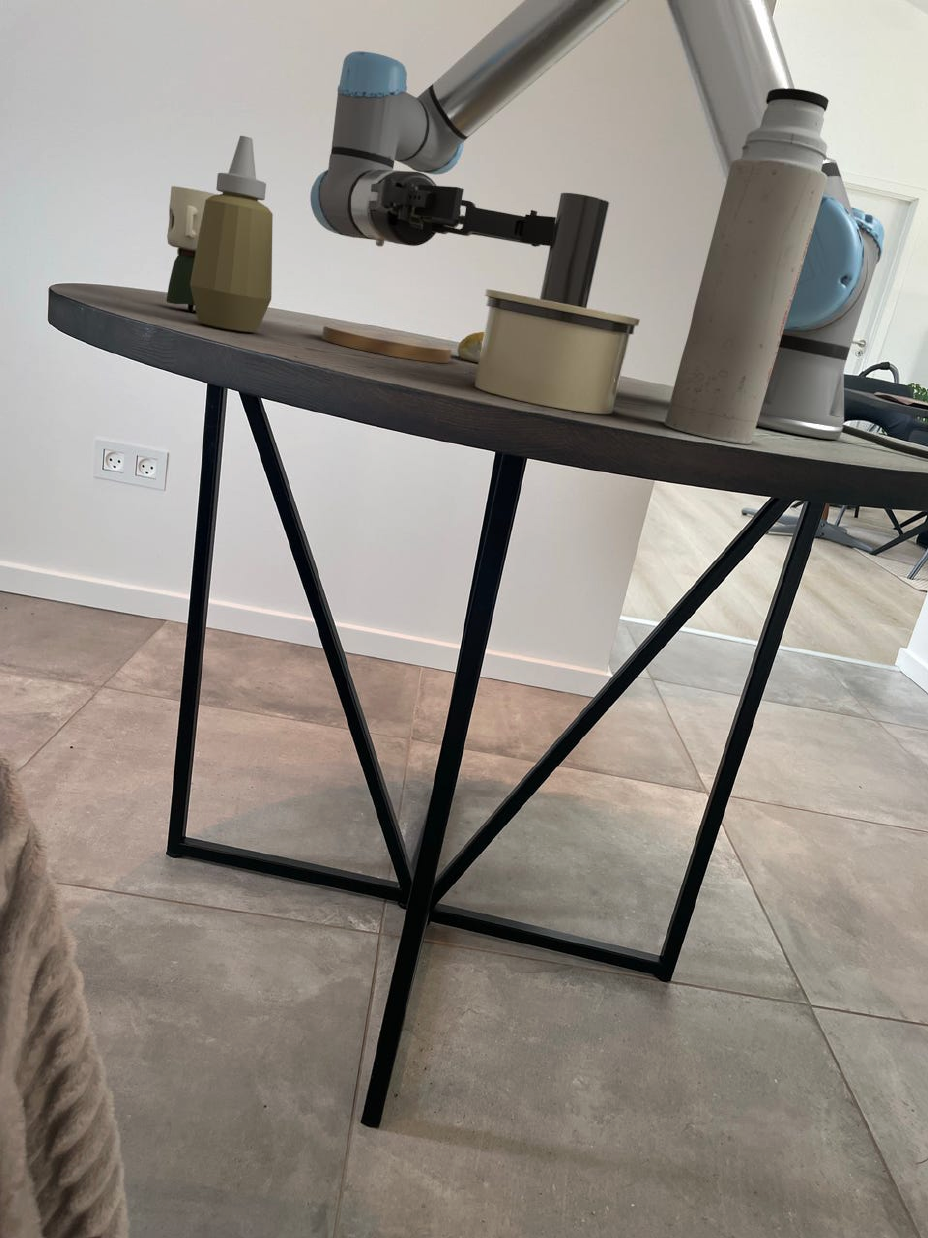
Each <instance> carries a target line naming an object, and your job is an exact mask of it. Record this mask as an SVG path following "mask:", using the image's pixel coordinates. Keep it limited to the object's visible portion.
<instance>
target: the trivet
mask: <svg viewBox="0 0 928 1238" xmlns="http://www.w3.org/2000/svg"><path fill="white" fill-rule="evenodd" d="M321 339H322V340H323V341H326V342H328V343H332V344H335V345H338V346H342V347H346V348H351V349H353V350H359V351H364V352H368V353H373V354H378V355H382V356H388V357H394V358H400V359H405V360H412V361H417V362H418V361H419V362H427V363H437V364H448V363H450V360H451V354H452V348H451V347H448V346H446V345H442V344H438V343H434V342H431V341H427V340H422V339H417V338H413V337H407V336H403V335H399V334H395V333H389V332H382V331H377V330H372V329H365V328H360V327H353V326H347V325H339V324H323V327H322V335H321Z"/></svg>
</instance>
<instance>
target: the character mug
mask: <svg viewBox="0 0 928 1238" xmlns="http://www.w3.org/2000/svg"><path fill="white" fill-rule="evenodd" d="M214 195H219V194H217V193H214V192H209V191H205V190H199V189H194V188H188V187H184V186H175V185H172V186H171V188H170V198H169V205H168V207H169V208H168V209H169V210H168V211H169V213H168V214H169V215H168V216H169V218H168V229H167V235H166V240H167V244H168V245H169V246H171V247H172V248H177V249H176V257H175V259H174V262H173V265H172V269H171V275H170V278H169V282H168V288H167V294H166V299H165V302H167V303H168V304H172V305H187V312H190V313H192V312H194V310H195V311H196V309H195V304H194V300H193V295H192V291H191V286H190V282H191V276H192V271H193V265H194V260H195V255H196V249H197V244H198V238H199V233H200V227H201V222H202V217H203V211H204V206H205V200H206V199H208V198H209V197H211V196H214Z"/></svg>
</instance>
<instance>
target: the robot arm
mask: <svg viewBox="0 0 928 1238" xmlns="http://www.w3.org/2000/svg"><path fill="white" fill-rule="evenodd" d="M631 1H632V0H523V1H522V2H521V3H520V4H519V5H518V6H517V7H516V8H514V9H513V10H512V11H511V12H510V13H508V15H507V16H506V17H504V18H503V19H502V20H501V21H500V22H499V23H498V24H496V25H495V27H494V28H492V29H491V30H490V31H489V32H488V33H487V34H486V35H485V36H483V38H482V39H481V40H480V41H478V42H477V43H476V44H474V46H473V47H471V49H469V50H468V51H467V52H466V53H465V54H464V55H463V56H462V57H461V58H460V59H458V60H457V61H456V62H455V63H454V64H453V65H452V66H451V67H450V68H449V69H447V70H446V71H445V72H444V73H443V74H442V75H441V76H440V77H439V78H438V79H437V80H435V82H433V83H432V84H431V85H430V86H429V87H427V88H426V89H425V90H424V91H423V92H422V93H420V94H419V95H418V96H417V97H416V96H414V95H412V94H410V93H409V92H407V90H408V85H407V77H408V72H407V69H406V67H405V65H404V64H403V63H402V62H401V61H399V60H397V59H395V58H392V57H391V56H387V55H384V54H380V53H376V52H370V51H361V50H359V51H358V50H357V51H351V52H349V53H348V54H347V55H346V56H345V57H344V59H343V64H342V69H341V74H340V80H339V84H338V87H337V97H336V107H335V115H334V123H333V133H332V142H331V149H330V154H329V159H328V161H329V162H328V168H327V169H326V170H324V171H322V172H321V173H320V174H319V175H318V176H317V177H316V179H315V181H314V183H313V185H312V187H311V189H310V198H309V199H310V207H311V210H312V214H313V216H314V217H315V220H316V221H317V222H318V223H319V224H320V226H322V227H323V228H324V229H325V230H327V231H329V232H331V233H334V234H336V235H340V236H345V237H349V238H353V239H354V238H355V239H364V240H372V241H375V245H376V246H377V247H379V248H381V247H383V246H384V245H385V242H387V243H393V244H396V245H403V246H410V247H418V246H422V245H424V244H426V243H428V242H429V241H430V240H431V239H433V237H434V236H435V235H436V234H440V235H447V234H453V235H458V236H463V237H469V236H477V237H483V238H485V237H486V238H492V239H496V240H501V241H502V240H503V241H508V242H514V243H518V244H520V243H521V244H525V245H530V246H531V247H534V248H537V247H540V246H547V247H550V244H551V239H552V234H553V229H554V224H555V219H556V216H548V215H538V211H537V210H534V209H531V210H530V213H529V214H527V213H526V214H525V215H519V214H514V213H507V212H502V211H497V210H491V209H485V208H481V207H477V206H476V204H475V203H474V202H473V201H471V200H465V199H463V195H464V190H465V189H464V188H461V187H458V186H448V185H447V186H445V185H437V184H436V182H435V180H433V179H432V178H431V177H429V176H428V175H426V174H429V175H436V176H437V175H443V174H445V173H448V172H449V171H451V170H452V169H454V168H455V166H456V165H457V164H458V162H459V160H460V158H461V156H462V154H463V151H464V146H465V145H464V144H465V141H466V140H467V139H469V137H471V136H472V135H473V134H474V133H475V132H477V131H478V130H479V129H480V128H481V127H483V126H484V125H485V124H487V122H489V120H491V119H492V118H493V117H495V115H497V114H498V113H499V112H500V111H502V109H504V108H505V107H507V105H509V104H510V103H511V102H512V101H514V100H515V99H516V98H517V97H518V96H519V95H521V94H522V93H523V92H524V91H525V90H526V89H528V88H529V87H530V86H532V84H533V83H535V82H536V81H537V80H538V79H539V78H541V77H542V76H544V74H545V73H547V72H548V71H549V70H550V69H552V68H553V67H554V66H555V65H556V64H558V62H560V61H561V60H563V58H564V57H566V56H567V55H569V53H570V52H571V51H573V50H574V49H575V48H576V47H578V46H579V45H580V44H582V42H583V41H585V40H586V39H587V38H589V37H590V36H591V35H592V34H593V33H594V32H596V31H597V30H598V29H599V28H601V26H602V25H604V24H605V23H606V22H607V21H608V20H610V19H611V18H612V17H613V16H614V15H616V14H617V13H618V12H619V11H620V10H622V9H623V8H624V7H625V6H626V5H627V4H629V3H630V2H631ZM664 2H665V5H666V8H667V11H668V15H669V17H670V20H671V24H672V27H673V30H674V33H675V36H676V39H677V42H678V46H679V48H680V52H681V55H682V58H683V62H684V64H685V68H686V71H687V73H688V77H689V79H690V82H691V86H692V88H693V92H694V96H695V98H696V101H697V105H698V108H699V110H700V114H701V117H702V120H703V123H704V126H705V129H706V132H707V135H708V139H709V141H710V144H711V147H712V151H713V154H714V157H715V160H716V163H717V166H718V169H719V172H720V176H721V179H722V182H723V185H724V187H725V186H726V182H727V178H728V174H729V171H730V167H731V163H732V162H733V161H734V160H737V159H741V157H742V154H743V150H742V147H743V146H744V145H745V142H746V139H747V135H748V134H749V133H750V132H752V131H754V130H756V129H758V128H759V127H760V126H761V122H762V119H763V115H764V112H765V110H766V109H767V107H768V104H767V103H766V99H767V95H768V92H769V91H771V90H774V89H781V88H791V89H796V88H795V84H794V81H793V79H792V75H791V72H790V68H789V66H788V63H787V59H786V55H785V53H784V50H783V46H782V43H781V39H780V36H779V34H778V31H777V27H776V24H775V21H774V17H773V15H772V12H771V11H772V10H771V9H770V5H769V2H768V0H664ZM395 161H396V162H398V163H400V164H402V165H404V166H406V167H408V168H410V169H412V170H413V171H410V170H409V171H408V170H396V169H394V167H395ZM821 171H822V172H823V173H825V174H826V175H827V177H828V178H827V182H826V186H825V189H824V193H823V196H822V200H821V203H820V206H819V210H818V213H817V217H816V220H815V224H814V227H813V231H812V234H811V238H810V241H809V245H808V248H807V251H806V255H805V258H804V262H803V265H802V269H801V272H800V276H799V279H798V283H797V286H796V289H795V293H794V296H793V299H792V302H791V305H790V308H789V312H788V315H787V318H786V322H785V325H784V329H783V333H782V336H781V340H780V344H779V348H778V352H777V355H776V359H775V362H774V366H773V369H772V372H771V376H770V379H769V383H768V386H767V390H766V393H765V397H764V400H763V404H762V407H761V411H760V414H759V417H758V421H757V424H756V427H761V428H765V429H771V430H773V431H779V432H785V433H788V434H794V435H799V436H806V437H811V438H818V439H825V440H834V441H835V440H840V438H841V434H842V433H843V434H846V435H849V436H852V437H854V438H858V439H861V440H863V441H867V442H870V443H872V444H874V445H878V446H880V447H884V448H886V449H889V450H893V451H894V452H899V453H902V454H906V455H909V456H913V457H917V458H922V459H924V460H928V450H926V449H922V448H918V447H913V446H910V445H906V444H902V443H899V442H896V441H893V440H891V439H887V438H885V437H882V436H880V435H877V434H874V433H871V432H868V431H864V430H861V429H858V428H855V427H853V426H849V425H846V424H844V423H845V379H844V378H845V373H844V371H845V367H846V363H847V360H848V356H849V353H850V351H851V347H852V344H853V340H854V337H855V335H856V331H857V328H858V325H859V321H860V318H861V315H862V312H863V309H864V305H865V302H866V299H867V296H868V292H869V289H870V286H871V283H872V279H873V277H874V273H875V270H876V267H877V264H878V263H879V262H880V260H881V258H882V255H883V243H884V240H885V229H884V225H883V224H882V223H881V221H880V220H879V219H878V218H876V217H875V216H874V215H872V214H868V213H866V212H865V211H863V210H861V209H859V208H855V207H852V206H851V203H850V200H849V197H848V194H847V191H846V188H845V187H846V186H845V184H844V181H843V177H842V175H841V171H840V169H839V166H838V162H837V161H836V159H833V158H830V157H827V158H826V160H824V161H823V165H822V169H821ZM461 207H465V212H464V215H463V214H462V213H461V212H462V211H461V209H462V208H461ZM459 225H460V226H462V227H461V228H457V227H458V226H459Z"/></svg>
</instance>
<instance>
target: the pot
mask: <svg viewBox="0 0 928 1238" xmlns="http://www.w3.org/2000/svg"><path fill="white" fill-rule="evenodd" d="M486 297H487V298H486V302H485V306H486V307H488V309H487V315H486V322H485V326H484V331H483V332H484V337H483V342H482V347H481V353H480V358H479V363H477V368H476V369H477V370H476V376H475V381H474V387H475V388H476V389H479V390H481V391H483V392H487V393H490V394H492V395H496V396H499V397H503V398H507V399H510V400H511V399H512V400H515V401H520V402H523V403H527V404H532V405H537V406H541V407H548V408H553V409H558V410H564V411H570V412H576V413H584V414H591V415H592V414H593V415H611V414H612V413H613V411H614V406H615V401H616V397H617V393H618V388H619V385H620V381H621V377H622V371H623V368H624V364H625V359H626V355H627V351H628V347H629V342H630V338H631V336H632V335H635V331H636V327H637V326H635V325H630V324H625V323H620V322H615V321H609V320H604V319H599V318H594V317H589V316H584V315H579V314H574V313H569V312H564V311H559V310H554V309H549V308H544V307H539V306H534V305H529V304H523V303H518V302H513V301H508V300H503V299H498V298H493V297H488V296H486Z"/></svg>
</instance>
